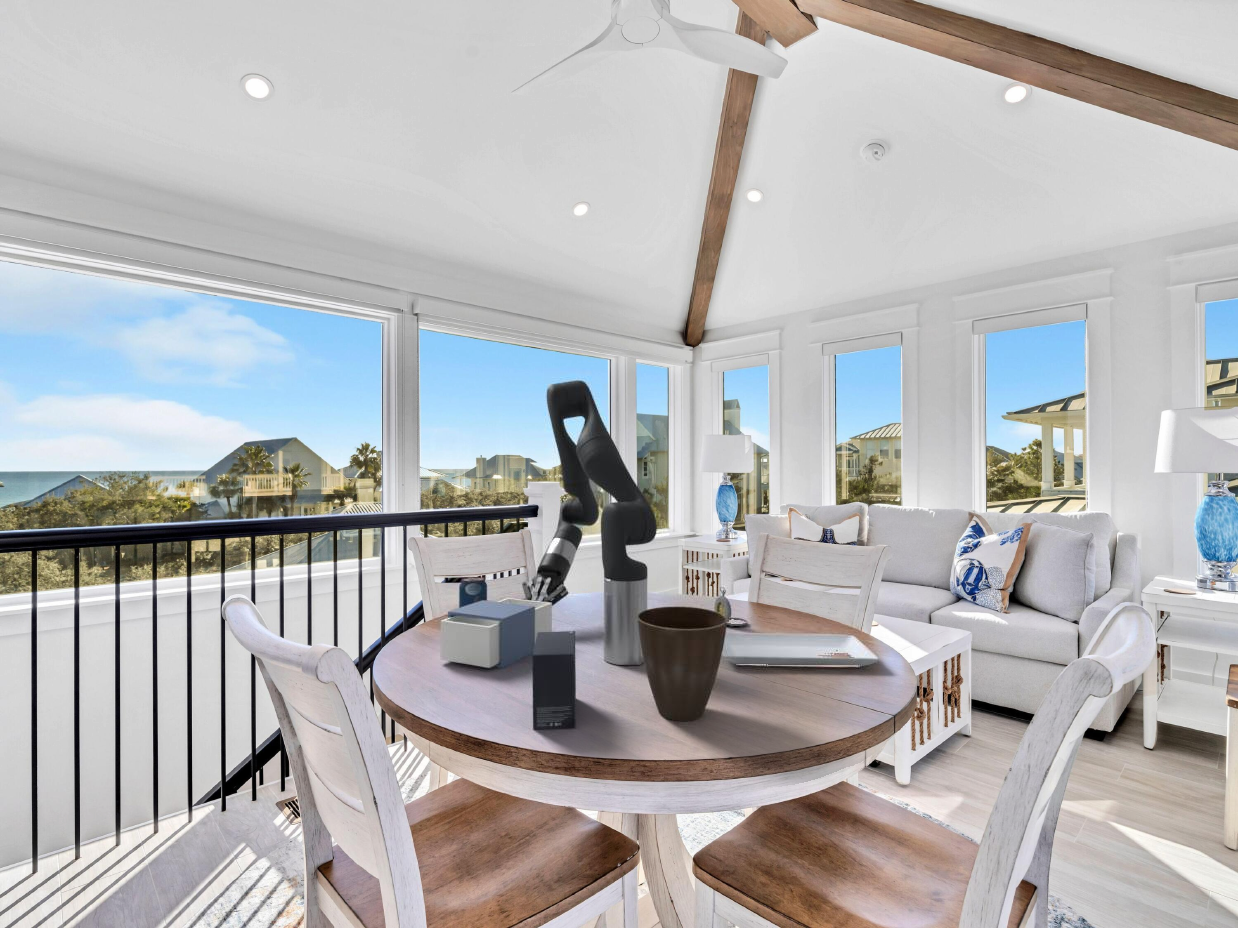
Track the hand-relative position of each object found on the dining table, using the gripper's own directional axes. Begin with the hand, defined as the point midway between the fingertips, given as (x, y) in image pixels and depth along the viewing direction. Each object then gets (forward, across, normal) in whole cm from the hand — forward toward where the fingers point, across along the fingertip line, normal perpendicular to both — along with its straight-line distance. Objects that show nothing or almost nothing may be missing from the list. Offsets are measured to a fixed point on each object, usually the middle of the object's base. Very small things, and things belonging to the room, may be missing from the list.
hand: (531, 619), depth 148 cm
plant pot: (+22, +47, -16) cm, 54 cm away
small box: (+29, +28, -22) cm, 46 cm away
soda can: (+1, -19, +5) cm, 20 cm away
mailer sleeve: (+14, 0, -8) cm, 16 cm away
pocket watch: (-19, +40, +26) cm, 51 cm away
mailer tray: (+11, 0, -7) cm, 13 cm away
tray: (-4, +59, +11) cm, 60 cm away
